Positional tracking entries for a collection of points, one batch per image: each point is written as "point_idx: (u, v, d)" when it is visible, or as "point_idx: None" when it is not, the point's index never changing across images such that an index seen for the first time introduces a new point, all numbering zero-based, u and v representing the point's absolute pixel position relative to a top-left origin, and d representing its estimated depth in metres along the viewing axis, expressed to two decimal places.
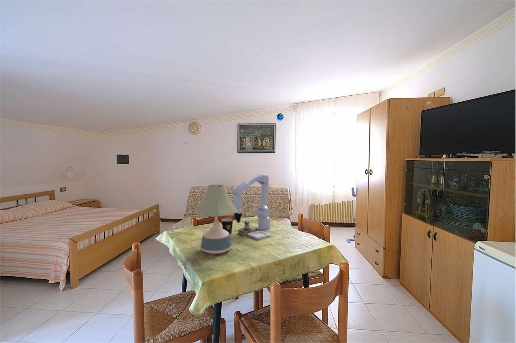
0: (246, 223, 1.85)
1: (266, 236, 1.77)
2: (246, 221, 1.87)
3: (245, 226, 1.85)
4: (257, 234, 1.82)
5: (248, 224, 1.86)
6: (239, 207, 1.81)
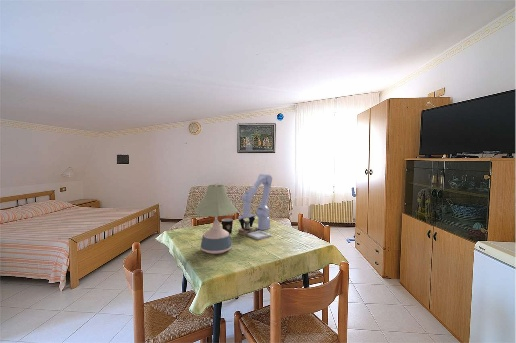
0: (246, 223, 1.85)
1: (266, 236, 1.77)
2: (246, 221, 1.87)
3: (245, 226, 1.85)
4: (257, 234, 1.82)
5: (248, 224, 1.86)
6: (244, 214, 1.84)
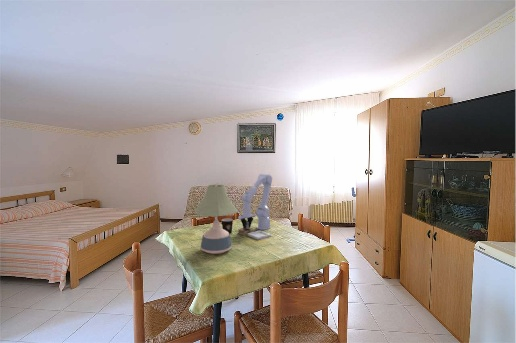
0: (246, 223, 1.85)
1: (266, 236, 1.77)
2: (246, 221, 1.87)
3: None
4: (257, 234, 1.82)
5: (248, 224, 1.86)
6: (244, 214, 1.84)
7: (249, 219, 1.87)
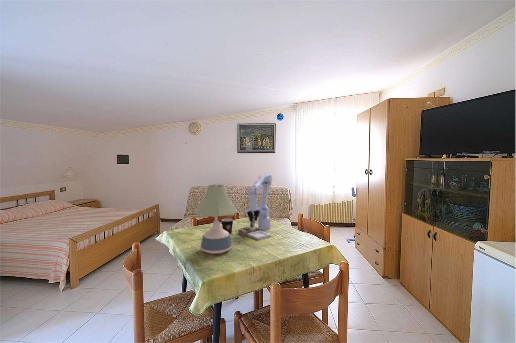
0: (252, 217, 1.81)
1: (266, 236, 1.77)
2: None
3: None
4: (257, 234, 1.82)
5: (254, 218, 1.82)
6: (251, 207, 1.80)
7: (256, 212, 1.83)
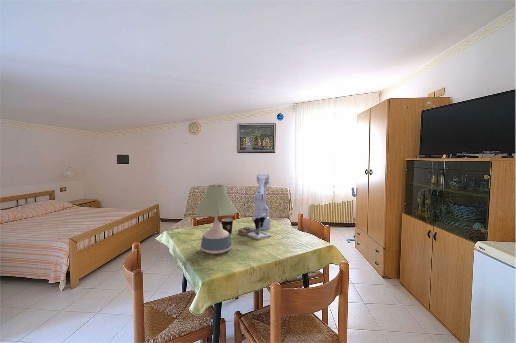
0: (259, 223, 1.78)
1: (266, 236, 1.77)
2: None
3: None
4: None
5: (260, 224, 1.80)
6: (258, 214, 1.77)
7: (261, 219, 1.81)
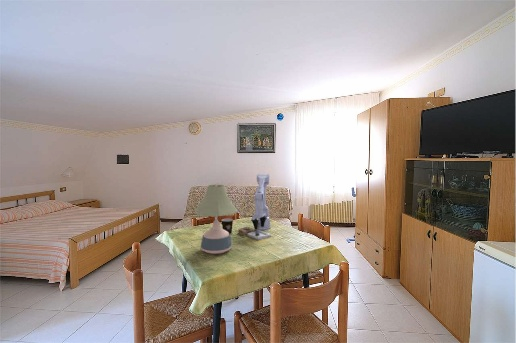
0: None
1: (266, 236, 1.77)
2: None
3: None
4: None
5: None
6: (258, 214, 1.77)
7: (262, 218, 1.82)
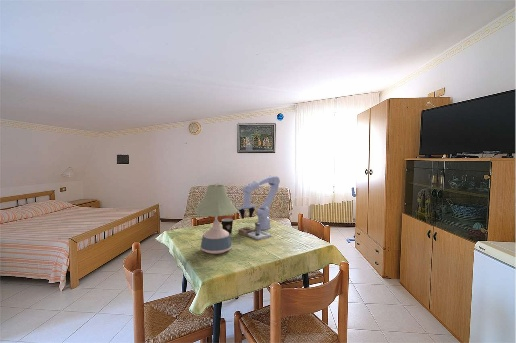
0: (257, 224, 1.79)
1: (266, 236, 1.77)
2: (256, 222, 1.81)
3: (256, 228, 1.79)
4: None
5: (259, 225, 1.80)
6: (245, 204, 1.89)
7: (251, 209, 1.94)
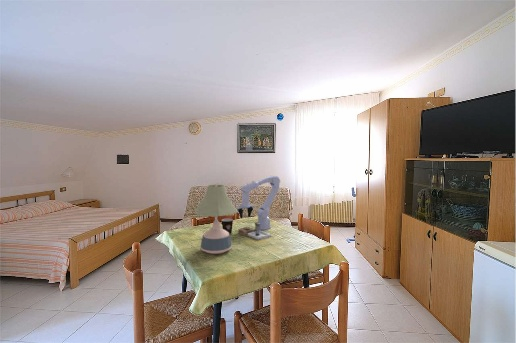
0: (257, 224, 1.78)
1: (266, 236, 1.77)
2: (256, 222, 1.81)
3: (256, 228, 1.79)
4: None
5: (259, 225, 1.80)
6: (243, 204, 1.91)
7: (249, 209, 1.96)
